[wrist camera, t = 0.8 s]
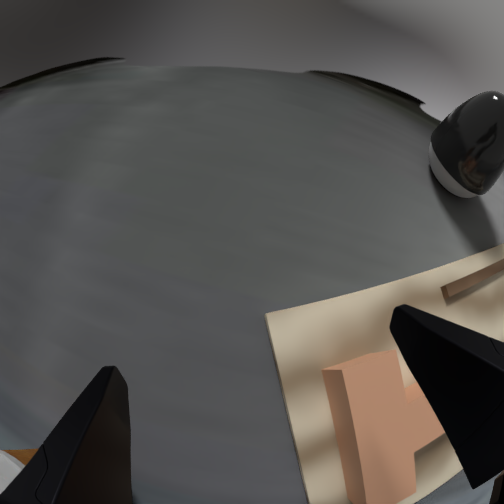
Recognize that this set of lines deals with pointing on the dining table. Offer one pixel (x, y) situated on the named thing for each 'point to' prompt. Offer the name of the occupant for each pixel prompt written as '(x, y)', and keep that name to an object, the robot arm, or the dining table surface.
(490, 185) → the grey egg-shaped pod
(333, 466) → the board
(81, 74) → the dining table surface
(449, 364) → the robot arm
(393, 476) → the t block
